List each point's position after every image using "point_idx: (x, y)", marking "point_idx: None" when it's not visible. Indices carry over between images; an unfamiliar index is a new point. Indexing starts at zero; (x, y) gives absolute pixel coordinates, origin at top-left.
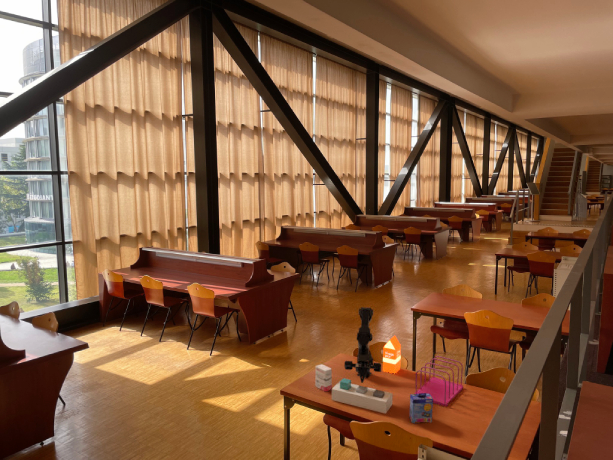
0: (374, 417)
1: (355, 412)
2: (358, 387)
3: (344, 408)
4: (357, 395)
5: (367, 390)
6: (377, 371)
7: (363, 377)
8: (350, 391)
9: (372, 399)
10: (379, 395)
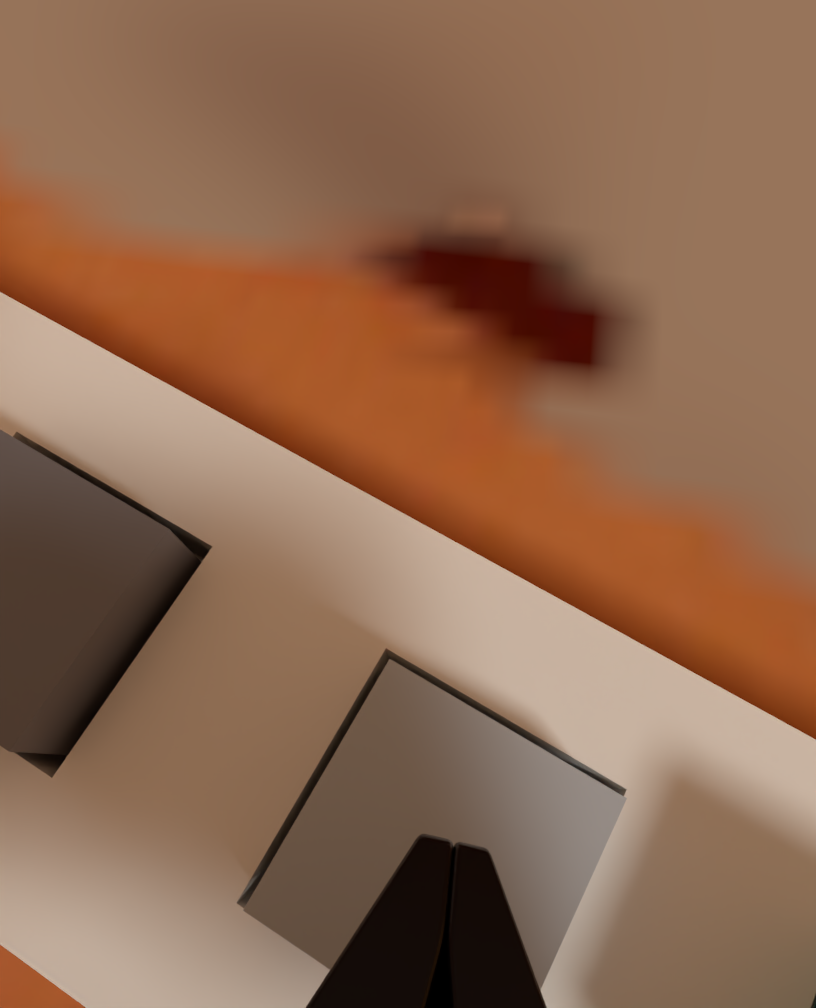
0: (300, 315)
1: (580, 460)
2: (545, 920)
3: (771, 595)
4: (578, 612)
5: None
6: None
7: (366, 998)
8: (767, 836)
9: (244, 432)
10: (35, 452)
